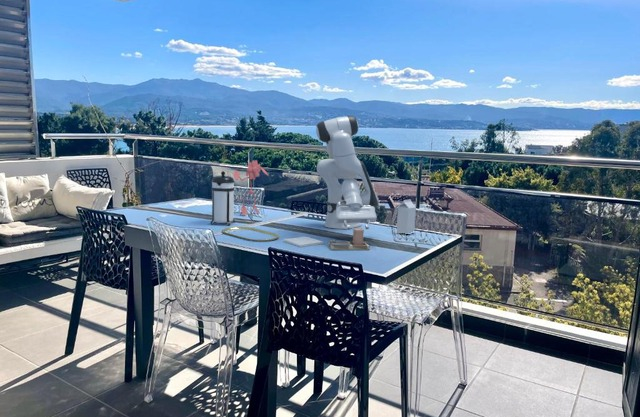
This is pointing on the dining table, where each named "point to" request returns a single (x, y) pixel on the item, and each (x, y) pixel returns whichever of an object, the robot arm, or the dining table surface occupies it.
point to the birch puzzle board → (346, 245)
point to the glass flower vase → (252, 173)
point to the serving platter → (252, 230)
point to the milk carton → (406, 217)
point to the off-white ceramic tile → (302, 241)
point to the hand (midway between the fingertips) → (357, 228)
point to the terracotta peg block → (358, 236)
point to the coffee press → (222, 199)
